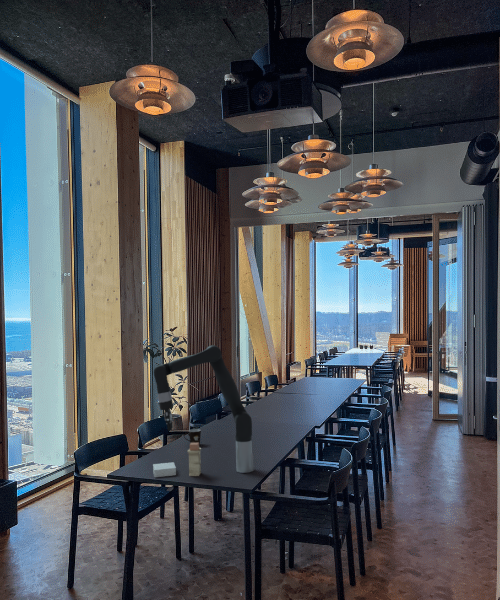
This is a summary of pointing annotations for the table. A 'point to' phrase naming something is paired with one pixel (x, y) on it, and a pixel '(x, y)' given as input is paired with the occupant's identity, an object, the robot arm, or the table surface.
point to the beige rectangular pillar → (194, 462)
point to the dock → (164, 469)
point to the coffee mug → (194, 436)
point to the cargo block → (194, 446)
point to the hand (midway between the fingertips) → (170, 429)
